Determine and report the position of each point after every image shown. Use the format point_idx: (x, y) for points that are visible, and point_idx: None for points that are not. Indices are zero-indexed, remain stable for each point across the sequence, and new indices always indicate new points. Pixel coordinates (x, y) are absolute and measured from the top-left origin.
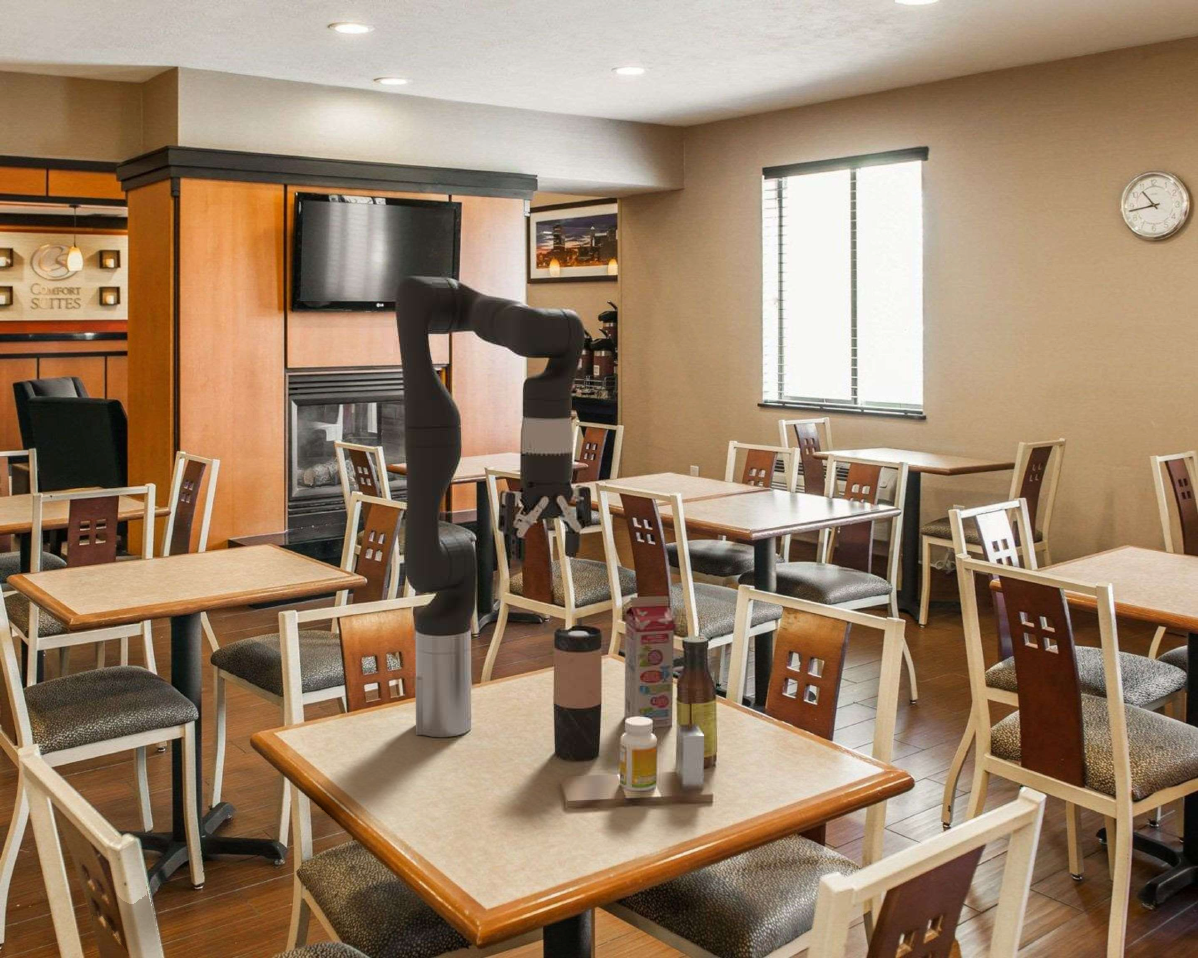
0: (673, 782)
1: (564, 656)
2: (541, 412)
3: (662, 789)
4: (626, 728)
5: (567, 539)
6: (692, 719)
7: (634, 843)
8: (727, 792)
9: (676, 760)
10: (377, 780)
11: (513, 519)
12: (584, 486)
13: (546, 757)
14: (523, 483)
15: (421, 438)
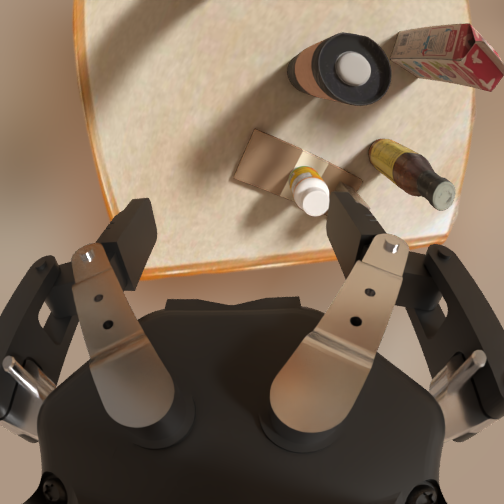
0: (330, 189)
1: (312, 79)
2: None
3: None
4: (301, 200)
5: (346, 233)
6: (388, 177)
7: (248, 243)
8: None
9: (343, 189)
10: (115, 60)
11: (67, 346)
12: (478, 432)
13: (277, 65)
14: (61, 493)
15: None
